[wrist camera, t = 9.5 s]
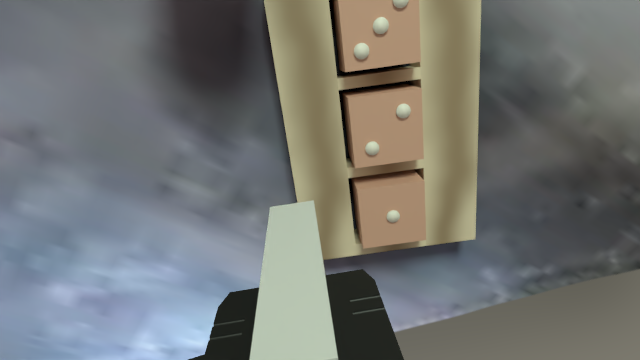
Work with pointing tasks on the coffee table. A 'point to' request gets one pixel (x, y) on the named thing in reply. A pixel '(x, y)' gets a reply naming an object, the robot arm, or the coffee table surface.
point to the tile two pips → (384, 125)
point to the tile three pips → (376, 33)
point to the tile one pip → (389, 208)
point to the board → (323, 85)
